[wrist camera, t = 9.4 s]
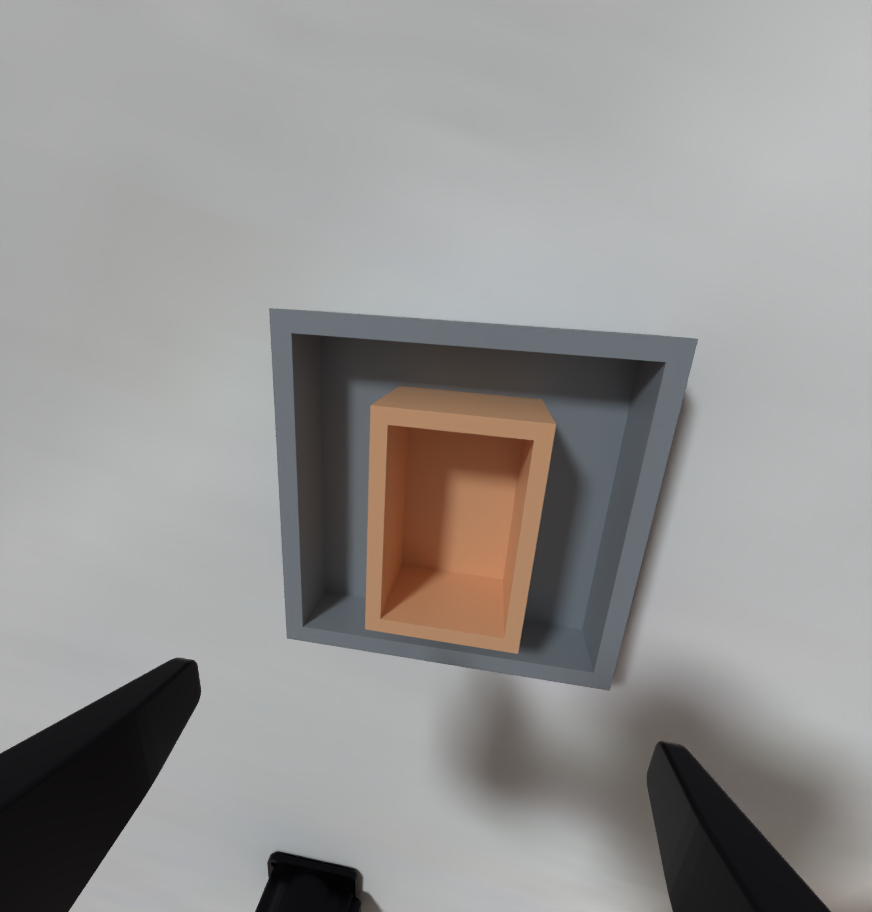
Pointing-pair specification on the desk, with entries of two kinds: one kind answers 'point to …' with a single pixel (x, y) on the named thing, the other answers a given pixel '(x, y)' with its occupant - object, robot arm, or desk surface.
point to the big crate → (567, 489)
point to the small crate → (454, 514)
